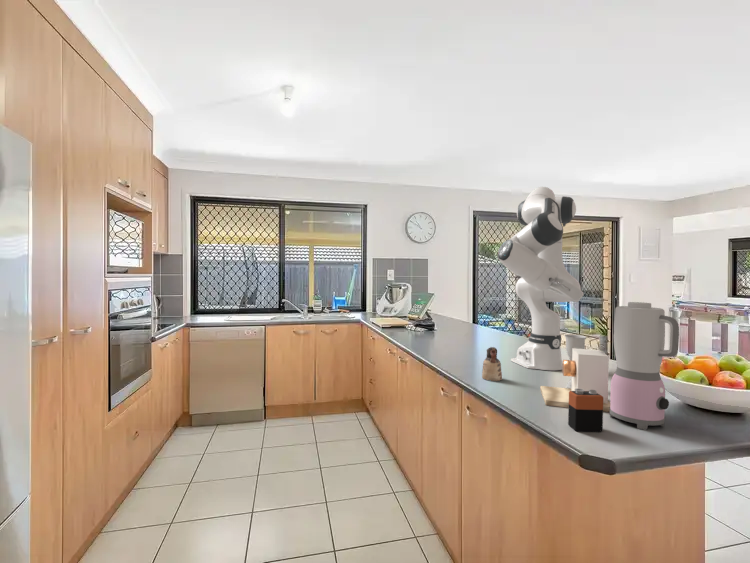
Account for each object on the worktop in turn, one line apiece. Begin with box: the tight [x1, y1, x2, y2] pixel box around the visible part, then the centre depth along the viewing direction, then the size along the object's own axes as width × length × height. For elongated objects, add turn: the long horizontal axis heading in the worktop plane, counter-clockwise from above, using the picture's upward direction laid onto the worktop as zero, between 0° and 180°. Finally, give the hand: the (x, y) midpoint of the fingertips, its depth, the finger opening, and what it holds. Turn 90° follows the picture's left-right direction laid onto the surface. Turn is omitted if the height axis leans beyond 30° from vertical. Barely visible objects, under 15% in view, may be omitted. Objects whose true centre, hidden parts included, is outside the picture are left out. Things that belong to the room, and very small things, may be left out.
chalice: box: [564, 334, 587, 389], centre depth 135 cm, size 7×7×18 cm
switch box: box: [570, 348, 610, 404], centre depth 119 cm, size 8×10×14 cm
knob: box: [561, 359, 576, 378], centre depth 120 cm, size 9×5×5 cm, turn 72°
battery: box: [567, 389, 604, 433], centre depth 98 cm, size 4×7×10 cm, turn 89°
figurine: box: [481, 346, 503, 382], centre depth 144 cm, size 7×7×12 cm
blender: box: [609, 301, 680, 430], centre depth 102 cm, size 16×12×32 cm
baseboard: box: [539, 385, 610, 413], centre depth 120 cm, size 18×16×2 cm
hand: (575, 299), depth 125 cm, fingers closed
